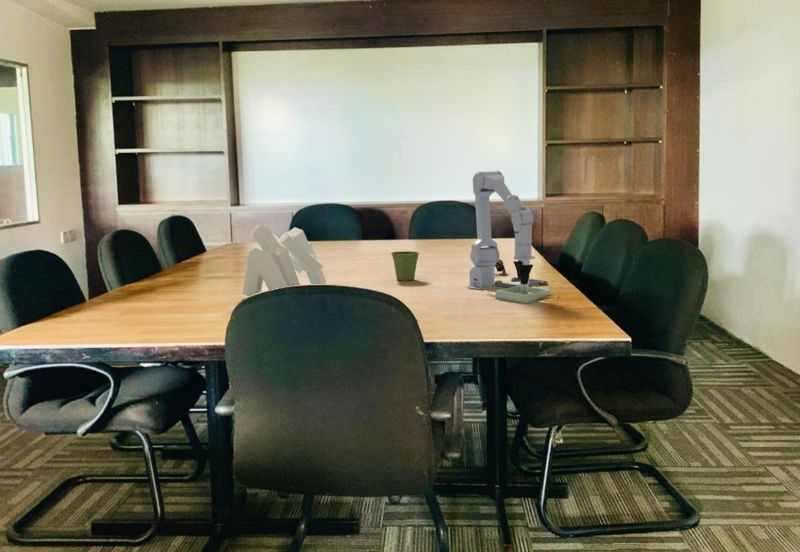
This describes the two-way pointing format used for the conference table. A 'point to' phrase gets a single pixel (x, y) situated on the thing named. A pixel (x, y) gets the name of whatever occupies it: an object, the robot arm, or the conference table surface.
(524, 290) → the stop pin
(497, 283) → the trolley deck
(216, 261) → the conference table surface
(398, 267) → the plant pot
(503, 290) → the tray
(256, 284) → the pile of blocks
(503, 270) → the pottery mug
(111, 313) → the conference table surface
